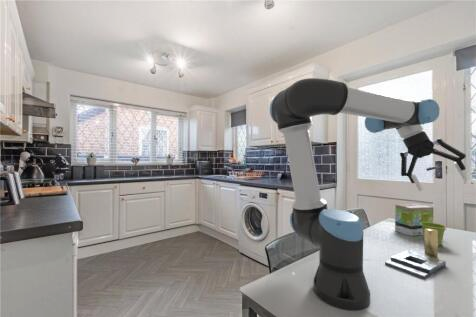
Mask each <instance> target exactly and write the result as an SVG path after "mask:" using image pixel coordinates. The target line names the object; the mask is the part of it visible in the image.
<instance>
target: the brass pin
mask: <svg viewBox="0 0 476 317" xmlns="http://www.w3.org/2000/svg"><path fill="white" fill-rule="evenodd" d="M438 249H439V245H438V231H437V230H434V229H428V228H426V229H425V240H424V254H425V255H428V256H431V257H435V258H438V259H439V257H438V256H439V253H438V252H439V250H438Z"/></svg>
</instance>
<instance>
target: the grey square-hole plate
mask: <svg viewBox="0 0 476 317" xmlns="http://www.w3.org/2000/svg"><path fill="white" fill-rule="evenodd" d="M407 260H408V261H411V262H414V263H417V264H420V265H421V264H423V262H420V261H417V260H414V259H411V258H410V259H407ZM384 264H385V265H386V266H388V267H391V268H394V269H397V270H399V271H402V272H404V273H407V274H409V275H412V276H415V277H417V278H420V279H423V280H425V279H427V278H429V277H430V276H432V275H434V274H435V273H437V272H439V271H440V270H442V269H441V267H439V268H437V269H435V270H434V271H432V272H430V273H428V272H425V271H422V270H419V269H417V268H414V267H411V266H408V265H405V264H402V263H399V262H396V261H394V260H391V259H388V260H386V261H385V262H384Z"/></svg>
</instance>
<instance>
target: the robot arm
mask: <svg viewBox="0 0 476 317" xmlns="http://www.w3.org/2000/svg"><path fill="white" fill-rule="evenodd" d="M269 114H270V117H271V120H272V121H273V122H275V123H276V125H277V130H278V132H280V133H281V134H282V135H283V137H284V145H285V147H286V154H287V158H288V164H289V170H290V175H291V181H292V187H293V192H294V199H295V200H294V202H293V203H292V206H291V207H292V211H291V213H290V215H289V224H290V226H291V228H292V230H293V232H294V233H296V235H297V236H299V238H302V239H303V240H305V241H307V242H309V243H311V244H312V245H314V246H316V247H317V248H318V249H319V253H318V255H319V256H318V257H319V262H318V266H317V268H316V273H315V275H314V278H313V284H312V287H313V292H314V294H315V295H316V296H317V297H318V299H320V300H321V301H323V302H324V303H326V304H328V305H330V306H333V307H336V308H338V309H339V308H340V309H343V310H349V311H350V310H351V311H357V310H358V311H359V310H362V309H365V308H367V307H368V306H370V304H371V291H370V288H369V286H368V285H369V284H368V283H367V279H366V276H365V273H364V229H363V222H362V220H361V218H359V216H357V215H356V214H354V213H351V212H350V211H346V210H341V209H335V208H328V205H327V204H328V203H327V201H326V200H325V199H324V198H322V196H321V191H320V184H319V180H318V174H317V168H316V162H315V157H314V152H313V146H312V140H311V134H310V128H311V126H312V125H313V119H312V117H315V116H320V115H330V116H337V115H338V114H345V115H350V116H355V117H356V116H357V117H363V118H365V119H364V126H365V129H366V130H367V131H368V132H369V133H373V134H375V133H376V134H377V133H381V132H383V131H385V130H391V129H392V130H393V129H396V131H397V133H398V134H399V137H400V138H401V139H402V142H403V144H404V145H405V147H406V149H407V150H406V151H401V152H400V153H399V156H400V157H401V165H400V168H401V169H400V176H402V177H408V179H409V181H410V183H411V184H415V186H416V188H417V189H418V191H419V192H421V191H423V189H424V188H423V186H422V184H421V183H420V181H419V179H418V177H417V176H416V174H415V173H413V171H414V169H415V167H416V163H417V160H418V159H422V158H424V157H428V156H430V155H431V154H432V155H436V156H438V157H442V158H445V159H447V160H449V161H452V162H453V165H454V166H455V168H456V170H457V172H458V174H459V175H460V177H461V179H462V180H463V181H467V180H468V177H467V174H466V173H465V172H464V171H465V170H466V166H465V164H464V163H463V161H462V160H464V159H466V158H467V155H466V154H465V153H464V152H462V151H460V150H458V149H456V148H455V147H453V146H451V145H449V143H446V142H445V141H444V139H443V138H442V137H439V138H437V139H436V140H433V141H432V140H430V138H429V136H428V134H427V133H426V131H424V127H423V126H422V125H425V124H431V123H434V122H435V121H436V120H438V118H439V115H440V106H439V104H438V102H437V101H436V100H434V99H432V98H431V99H422V100H419V101H413V100H410V99H409V100H408V99H406V98H405V97H402V96H401V97H395V96H390V95H385V94H382V93H376V92H372V91H367V90H361V89H356V88H353V87H348V85H347V83H345V82H343V81H337V80H332V79H326V78H319V77H318V78H316V77H315V78H309V77H307V78H304V79H299V80H297V81H295V82H294V83H292V84H291V85H290V86H287V87H286V88H285V89H283V90H281V91H279V92H278V93H277V94H276V95H275V96H274V98H273V99H272V100H271V102H270V105H269ZM435 145H436V146H440V147H442V148H443V149H445V150H447V151H448V152H450V153H452V154H450V153H447V152H444V151H441V150H439V149H436V148H434V147H435ZM408 155H411V156H412V158H411V162H410V163H409V164H410V165H409V166H408V168H407V162H408V161H407V160H408Z"/></svg>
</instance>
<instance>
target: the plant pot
mask: <svg viewBox="0 0 476 317" xmlns="http://www.w3.org/2000/svg"><path fill="white" fill-rule="evenodd" d="M420 224H421V226H422V228H423V234H424V235H423V239H424V241H425V229H426V228H428V229H434V230H437V231H438V246H441V245H442V244H443V240H444V234H445V232H446V229H447V226H446V225H443V224H441V223H438V222H437V223H436V222H433V223H429V222H422V223H420Z"/></svg>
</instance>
